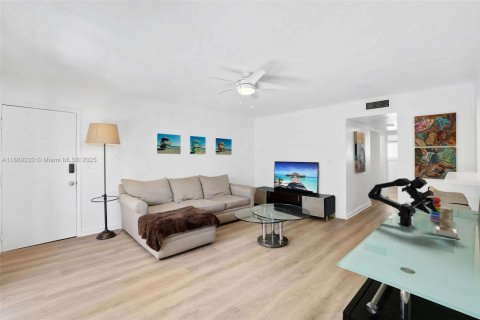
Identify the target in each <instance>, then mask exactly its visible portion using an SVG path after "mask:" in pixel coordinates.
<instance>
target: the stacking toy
mask: <svg viewBox="0 0 480 320" xmlns="http://www.w3.org/2000/svg"><path fill="white" fill-rule="evenodd" d="M432 197H433V198H434V199H435V200H434V206H435V208H436V209H437V211H438V212H434V211H433V210H430V214H429V221H432V222H435V223H440V208H442V204H441V201H442V200H441V198H440V197H438V196H432Z"/></svg>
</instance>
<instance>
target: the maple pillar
mask: <svg viewBox="0 0 480 320" xmlns="http://www.w3.org/2000/svg"><path fill="white" fill-rule="evenodd" d="M439 226H440V229H443V230H447V231H451V230H453V228H454V208H450V207H445V206H444V207H443V206H441V208H440V222H439Z"/></svg>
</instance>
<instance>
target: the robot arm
mask: <svg viewBox="0 0 480 320" xmlns="http://www.w3.org/2000/svg"><path fill="white" fill-rule="evenodd" d="M427 184H428V182H427V180H426V179H424V178H422V177H420V176H415V178H413V179H412V180H410V179H408V178H407V177H403V178H397V179H394V180H393V181H389V182H382V183H375V184H374V186H373V187H372V188H371V189H370V191H369V192H368V194H367V197H368V199H370V200H373V201H378V202H381V203H382V204H385V205H387V206H389V207H392V208H394V209H396V210H398V211H399V212H398V213H397V215H398V217H399V222H397V224H398V225H400V226H403V227H410V225H412V217H413V216H414V215H415V214H416V213H417V210H419V211H421V212H424V213H425V214H427V215H430V214H431V211H432V210H433V211H434V212H438V211H437V209H436V208H435V206H434V200H435V199H434V198H433V197H435V195H434V191H432V190H431V189H428V190H426V191H423V192H421V191H419V190H420V189H422V188H423V187H424V186H426V185H427ZM392 187H401V192H402V193H403V192H406V193H407V194H408V195H409V198H410V199H412V201H411V202H410V204H408V203H407V202H406V203H400V202H398V201H394V200H392V199H390V198H388V197H385V196H384V195H382V189H388V188H392ZM416 209H417V210H416ZM429 210H430V211H429Z"/></svg>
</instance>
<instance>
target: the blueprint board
mask: <svg viewBox="0 0 480 320" xmlns="http://www.w3.org/2000/svg"><path fill="white" fill-rule="evenodd" d="M432 230H433V231H432V234H433V236H435V237H436V236H439V237H440V238H441V237H442V238H443V237H444V238H446V239H451V240H456V241H457V240H458V241H461V236H460V235H461V233H460V228H456V227H453V230H451V231H447V230H443V229H440V225H437V224H434V226H433V229H432Z"/></svg>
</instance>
